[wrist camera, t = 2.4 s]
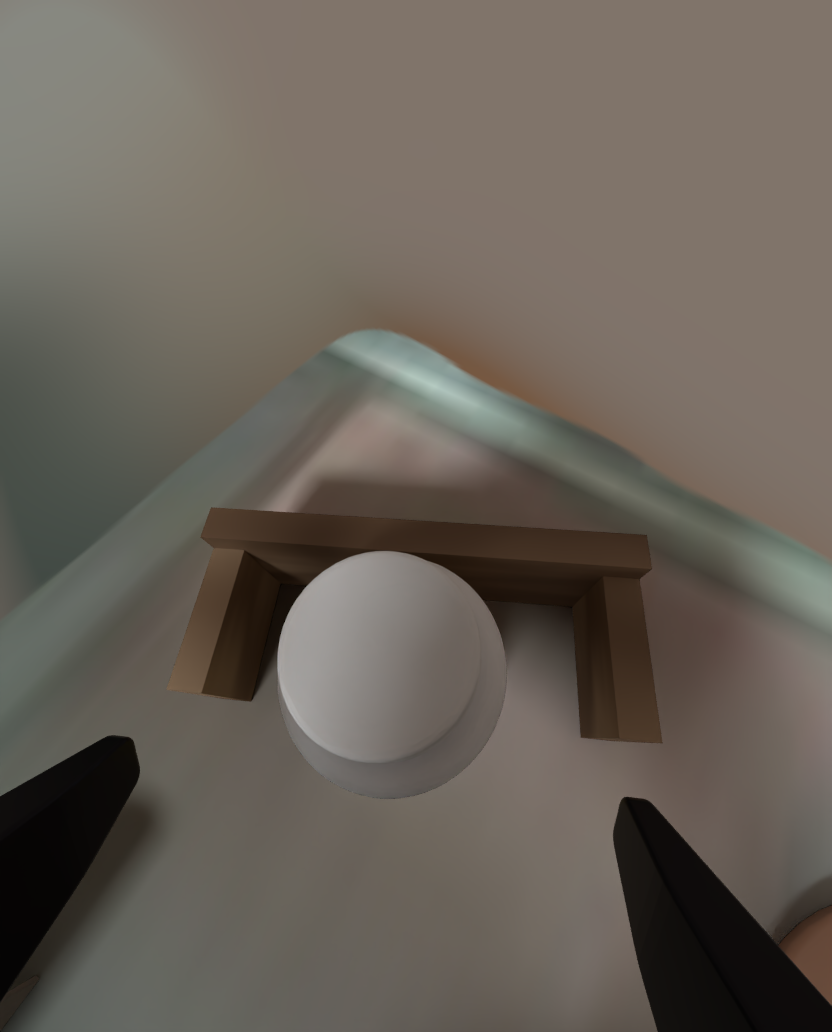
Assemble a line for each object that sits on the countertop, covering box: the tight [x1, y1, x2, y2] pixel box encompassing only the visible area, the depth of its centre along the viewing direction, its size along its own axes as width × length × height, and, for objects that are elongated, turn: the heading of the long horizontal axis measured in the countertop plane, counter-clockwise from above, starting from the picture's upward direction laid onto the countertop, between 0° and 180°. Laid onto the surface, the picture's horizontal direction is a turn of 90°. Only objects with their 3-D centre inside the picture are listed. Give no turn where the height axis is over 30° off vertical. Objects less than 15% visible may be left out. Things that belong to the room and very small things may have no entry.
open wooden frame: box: [166, 508, 662, 743], centre depth 16 cm, size 6×15×5 cm, turn 84°
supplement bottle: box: [277, 551, 507, 799], centre depth 13 cm, size 6×6×10 cm
